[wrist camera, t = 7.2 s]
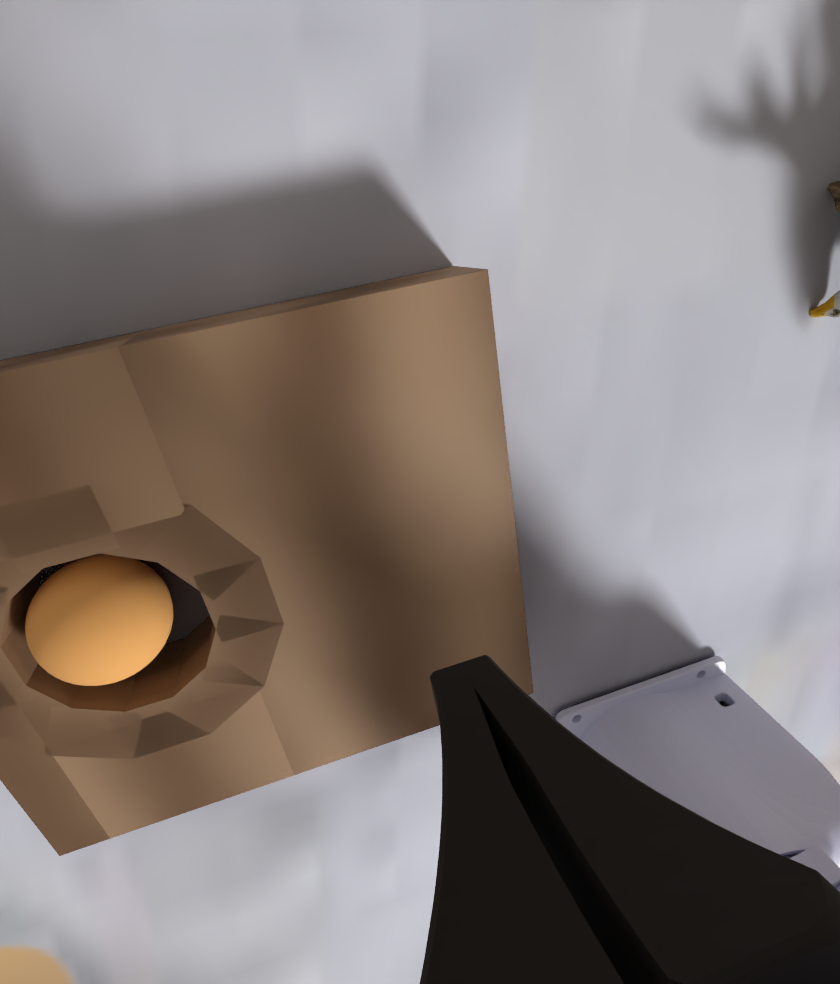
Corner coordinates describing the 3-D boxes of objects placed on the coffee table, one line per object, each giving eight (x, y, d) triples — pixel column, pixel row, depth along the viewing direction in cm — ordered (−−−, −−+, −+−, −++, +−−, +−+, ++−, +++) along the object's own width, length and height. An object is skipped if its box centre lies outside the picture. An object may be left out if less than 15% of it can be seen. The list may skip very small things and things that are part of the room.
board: (454, 266, 18) (487, 269, 15) (504, 644, 25) (533, 692, 22) (-176, 397, 15) (-272, 429, 12) (83, 782, 22) (59, 855, 19)
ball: (-23, 583, 16) (111, 516, 19) (40, 675, 18) (152, 604, 21) (30, 639, 14) (174, 554, 16) (94, 738, 16) (213, 649, 18)
